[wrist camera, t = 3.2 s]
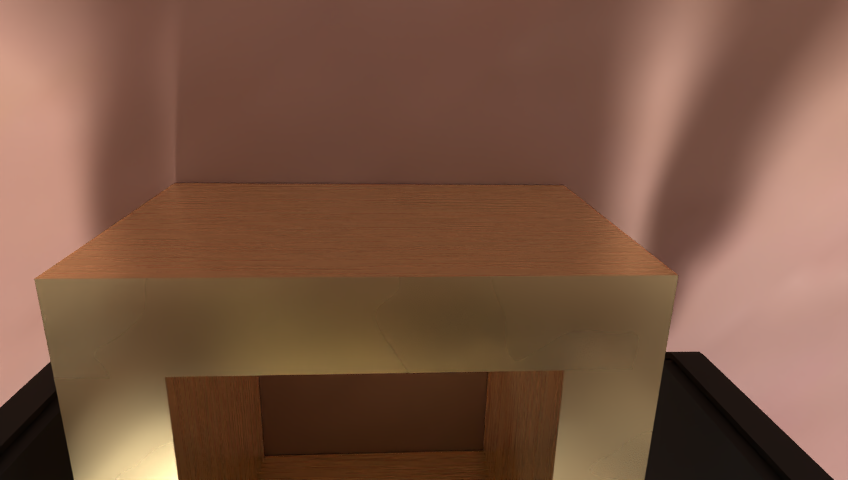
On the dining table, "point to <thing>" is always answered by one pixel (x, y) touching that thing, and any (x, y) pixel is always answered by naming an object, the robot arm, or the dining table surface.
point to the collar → (357, 327)
